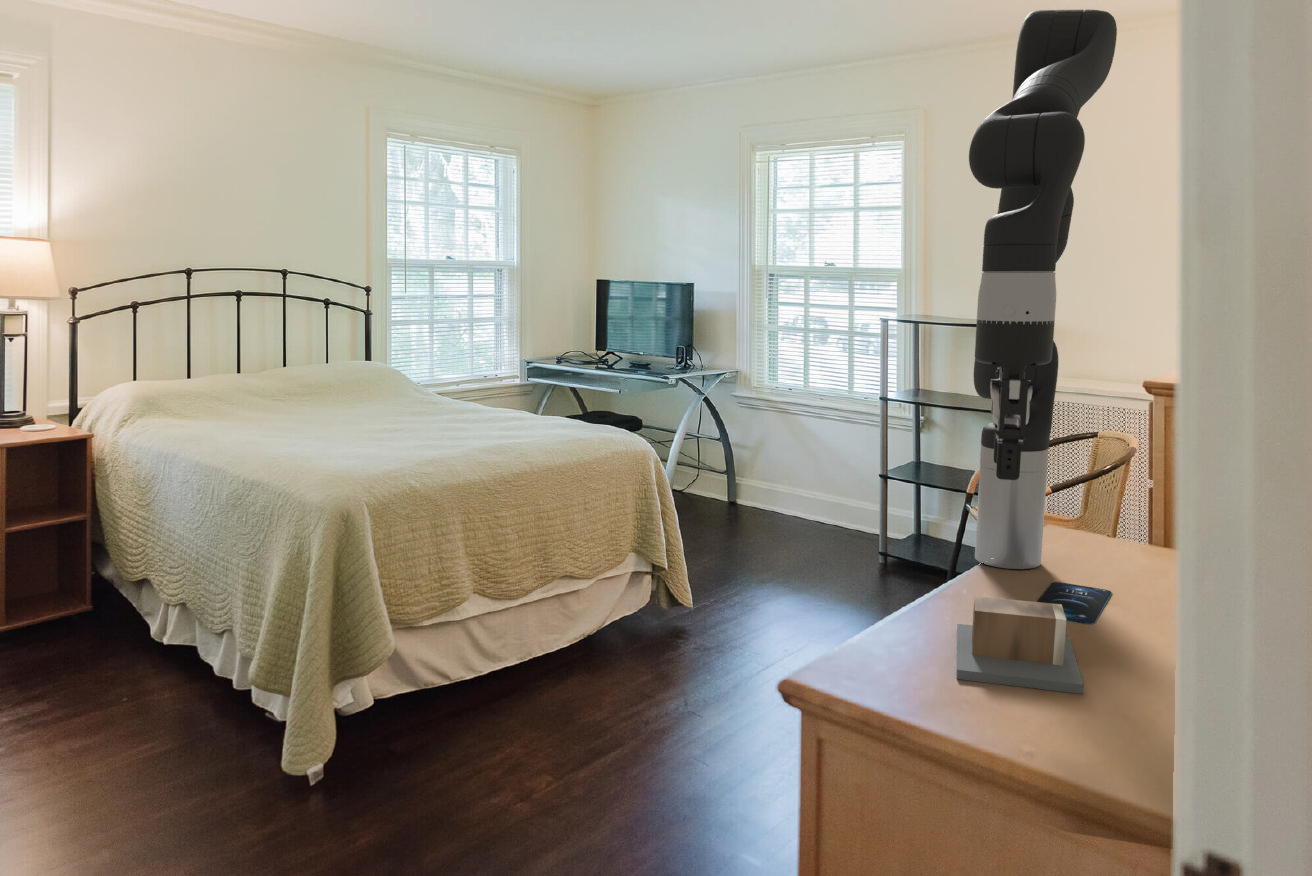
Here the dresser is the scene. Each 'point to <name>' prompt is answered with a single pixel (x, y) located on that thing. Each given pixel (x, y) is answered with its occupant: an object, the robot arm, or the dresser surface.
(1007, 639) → the tan rectangular block
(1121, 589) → the dresser surface
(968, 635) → the slate mat
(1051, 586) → the smartphone
